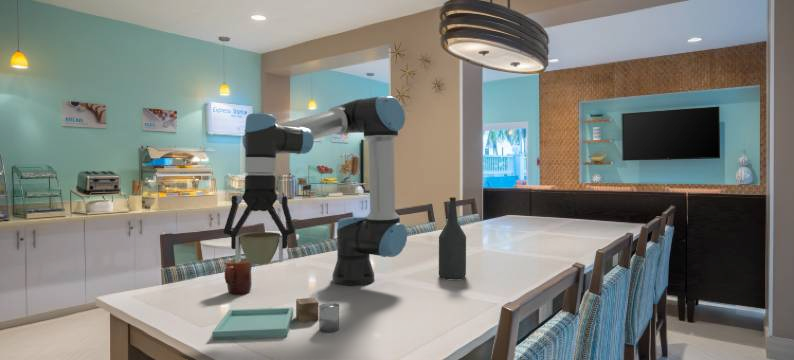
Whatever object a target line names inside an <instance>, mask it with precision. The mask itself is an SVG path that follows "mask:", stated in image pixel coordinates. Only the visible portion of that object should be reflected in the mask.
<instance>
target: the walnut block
mask: <svg viewBox="0 0 794 360" xmlns="http://www.w3.org/2000/svg"><path fill="white" fill-rule="evenodd" d="M295 318H296V319H297V321H298V323H299V324H302V323H303V324H304V323H309V322H317V321H318V322H319V301H318V299H316V297H303V298H296V299H295Z"/></svg>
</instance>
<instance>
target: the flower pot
mask: <svg viewBox="0 0 794 360" xmlns="http://www.w3.org/2000/svg"><path fill="white" fill-rule="evenodd" d="M280 235H281V233H279V232H272V231H271V232H270V231H258V232H246V233H242V234H241V233H240V234H239V235H238V236H239V238H240V243H241V250H242V251H243V254H244V256H245V258H246V259H248V261H249V262H250V263H251V264H252V265H265V264H269V263H271V261H272V259H273V257H274V256H275V255H276V252H277V249H278V248H279V236H280Z"/></svg>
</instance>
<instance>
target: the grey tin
mask: <svg viewBox="0 0 794 360" xmlns="http://www.w3.org/2000/svg"><path fill="white" fill-rule="evenodd" d="M318 330H319V333H323V334H333V333H337V332H339V330H340V304H339V303H336V302H326V303H325V302H324V303H321V304H319V305H318Z"/></svg>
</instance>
